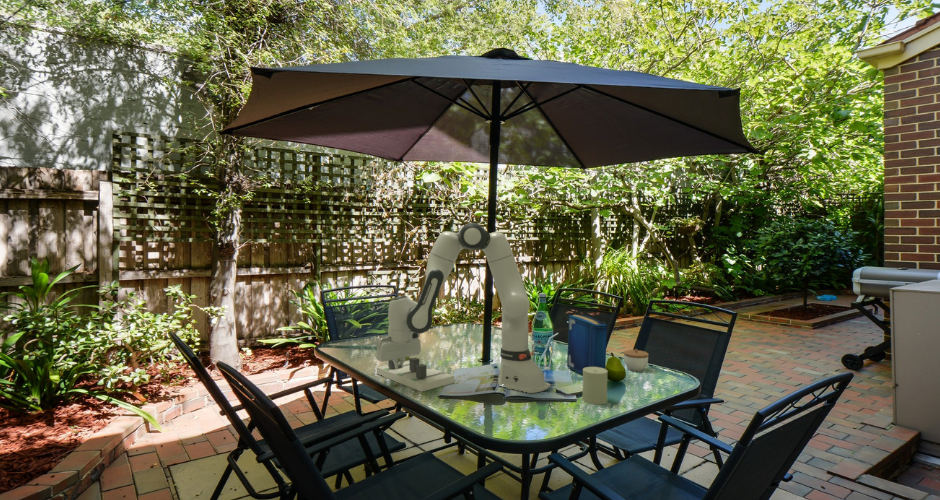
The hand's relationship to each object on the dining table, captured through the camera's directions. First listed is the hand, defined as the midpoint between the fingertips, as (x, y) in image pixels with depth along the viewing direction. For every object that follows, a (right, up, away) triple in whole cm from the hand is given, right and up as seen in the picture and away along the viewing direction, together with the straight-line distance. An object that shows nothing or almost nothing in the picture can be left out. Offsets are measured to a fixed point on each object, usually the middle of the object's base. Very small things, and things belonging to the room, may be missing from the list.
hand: (398, 368), depth 212 cm
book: (+81, -6, +14) cm, 83 cm away
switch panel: (+6, -6, +6) cm, 10 cm away
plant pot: (-3, -4, +36) cm, 36 cm away
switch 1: (-4, -2, +10) cm, 11 cm away
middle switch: (+6, -2, +5) cm, 8 cm away
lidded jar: (+106, -6, +22) cm, 108 cm away
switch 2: (+10, -3, -5) cm, 11 cm away
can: (+76, -8, -20) cm, 79 cm away
